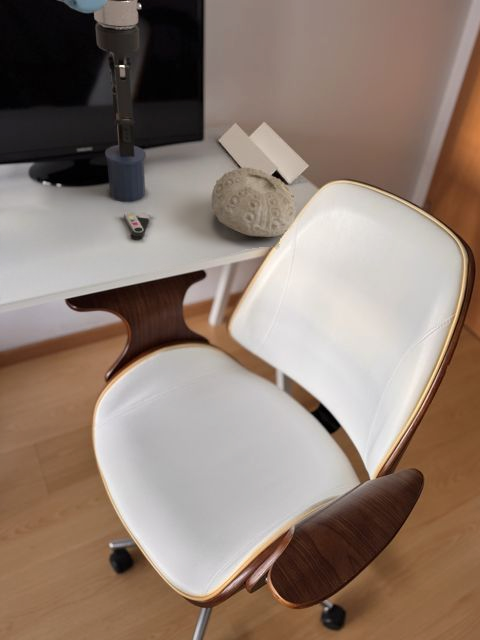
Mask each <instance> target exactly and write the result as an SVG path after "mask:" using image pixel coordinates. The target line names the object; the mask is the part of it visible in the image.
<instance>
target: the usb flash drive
mask: <svg viewBox="0 0 480 640" xmlns="http://www.w3.org/2000/svg"><path fill="white" fill-rule="evenodd" d="M139 213H140V214H139V215H138V217H137V215H136V214H135V212H130V213H124V214H123V218H124V220H125V221H126V223H127V225H128V228H129V229H130V231H131V233H130V238H131V239H132V240H143V237H144V235H145V233H146V231H147V228H148V225H149V223H150V217H151V214H150V213H144V212H139Z"/></svg>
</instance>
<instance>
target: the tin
mask: <svg viewBox="0 0 480 640" xmlns="http://www.w3.org/2000/svg"><path fill="white" fill-rule="evenodd" d="M106 161H107V163H106V164H107V172H108V173H107V174H108V185H109V194H110V196H111V197H112V198H113V199H115V200H117V201H119V202H124V203H125V202H127V203H129V202H136V201H137V202H138V201H140V200H141V199H143V198H145V196H146V184H145V183H146V181H145V179H146V178H145V160H144V161H142V162H140V163H138V164H133V165H121V164H116V163H113V162H111V161H109V160H108V159H107V158H106Z"/></svg>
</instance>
